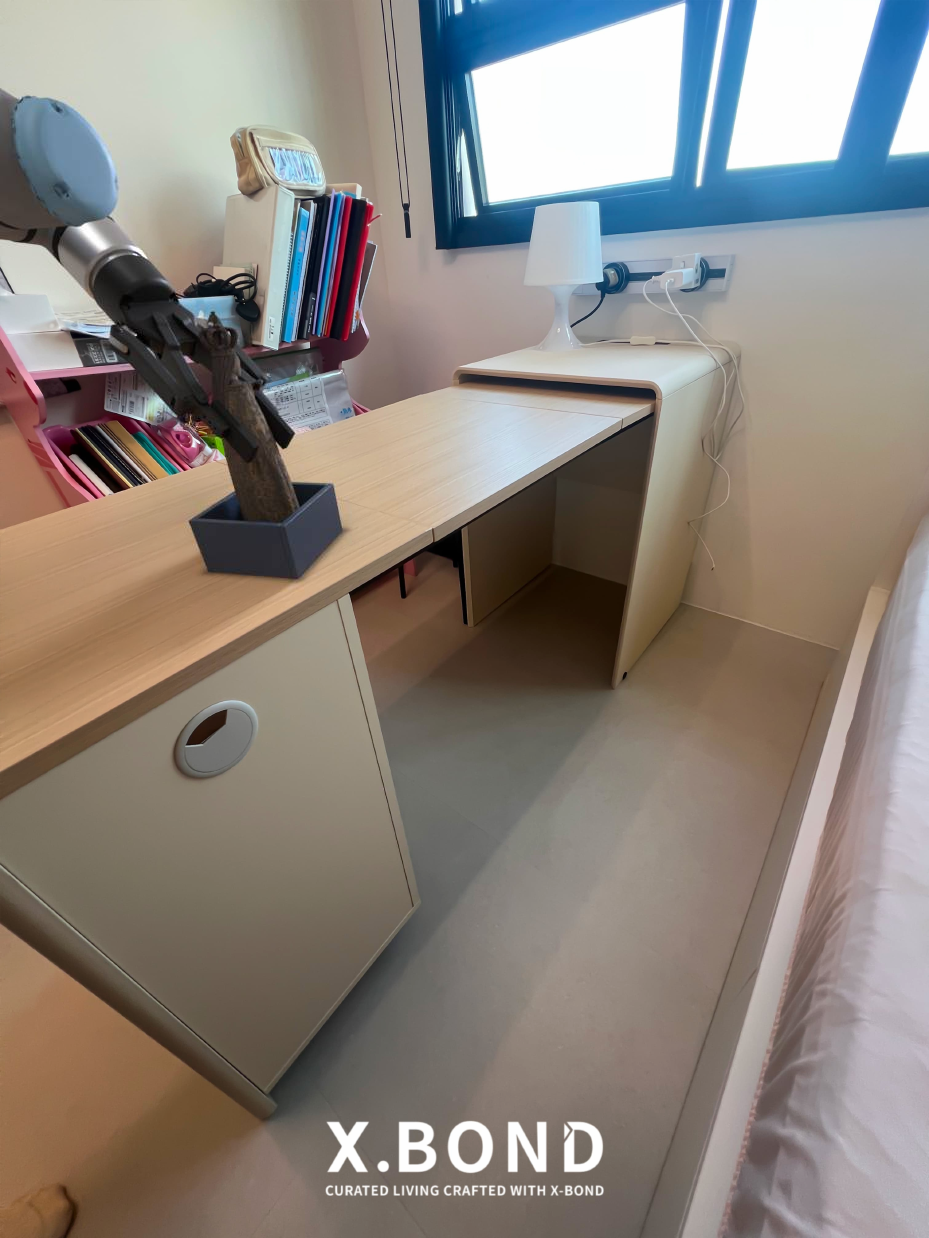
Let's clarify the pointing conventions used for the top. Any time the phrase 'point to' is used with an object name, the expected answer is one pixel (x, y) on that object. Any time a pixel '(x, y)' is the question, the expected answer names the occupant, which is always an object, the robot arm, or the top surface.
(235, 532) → the bin
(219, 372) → the statue
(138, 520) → the top surface
